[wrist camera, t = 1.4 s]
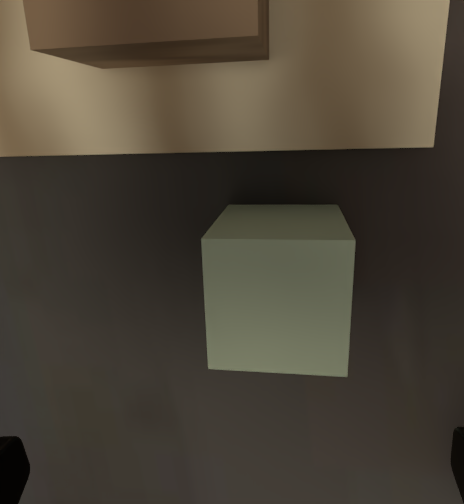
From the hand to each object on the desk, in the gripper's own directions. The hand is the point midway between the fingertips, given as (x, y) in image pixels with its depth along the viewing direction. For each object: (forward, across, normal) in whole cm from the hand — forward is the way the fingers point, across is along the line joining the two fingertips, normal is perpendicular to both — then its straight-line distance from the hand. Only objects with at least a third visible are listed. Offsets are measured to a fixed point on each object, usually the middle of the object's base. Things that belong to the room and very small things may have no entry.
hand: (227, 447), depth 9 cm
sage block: (+12, -2, 0) cm, 12 cm away
